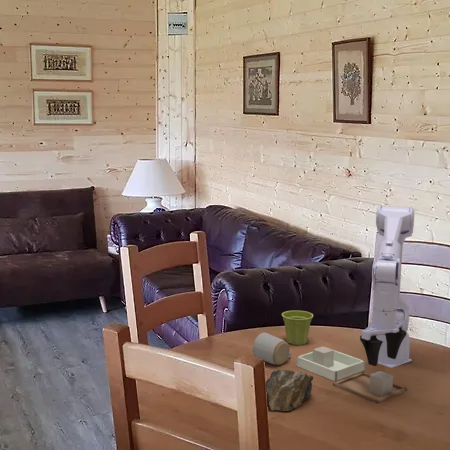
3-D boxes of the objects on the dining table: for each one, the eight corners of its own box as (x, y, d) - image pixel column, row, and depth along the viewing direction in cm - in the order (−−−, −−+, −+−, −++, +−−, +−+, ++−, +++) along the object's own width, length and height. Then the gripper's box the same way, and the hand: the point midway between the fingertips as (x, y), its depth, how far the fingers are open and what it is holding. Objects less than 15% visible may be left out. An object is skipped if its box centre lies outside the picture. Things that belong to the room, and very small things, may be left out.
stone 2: (379, 387, 179) (380, 370, 178) (392, 392, 176) (393, 375, 175) (369, 391, 177) (370, 374, 176) (382, 396, 174) (383, 379, 173)
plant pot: (278, 337, 218) (279, 310, 217) (308, 336, 219) (309, 309, 218) (284, 347, 209) (285, 319, 208) (315, 346, 210) (316, 318, 209)
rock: (285, 417, 163) (295, 376, 163) (246, 399, 169) (256, 360, 169) (312, 408, 176) (322, 369, 175) (274, 392, 181) (284, 354, 181)
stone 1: (322, 361, 197) (323, 346, 196) (333, 365, 194) (334, 350, 193) (312, 364, 195) (313, 349, 194) (323, 369, 191) (324, 353, 191)
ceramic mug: (274, 369, 192) (275, 342, 191) (251, 361, 198) (252, 335, 197) (298, 360, 200) (299, 333, 199) (275, 352, 205) (276, 327, 204)
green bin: (325, 357, 201) (326, 347, 201) (364, 371, 191) (365, 361, 190) (296, 367, 194) (296, 356, 193) (335, 382, 183) (335, 371, 183)
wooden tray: (363, 375, 188) (363, 371, 188) (407, 391, 178) (407, 388, 177) (332, 386, 181) (333, 383, 180) (376, 404, 170) (377, 400, 170)
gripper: (379, 317, 165) (376, 372, 167) (416, 306, 174) (413, 359, 176) (355, 310, 170) (353, 364, 173) (392, 300, 180) (390, 351, 182)
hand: (382, 361), depth 175 cm, fingers open, 7 cm apart
